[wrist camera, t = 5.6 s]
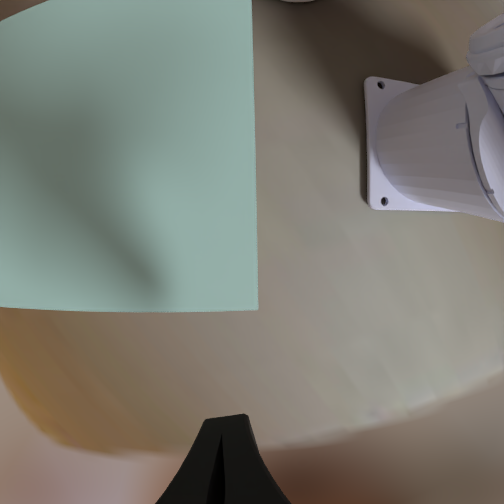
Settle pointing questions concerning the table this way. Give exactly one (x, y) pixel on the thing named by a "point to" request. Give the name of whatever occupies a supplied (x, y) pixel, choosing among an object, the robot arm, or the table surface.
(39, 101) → the lid
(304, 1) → the supplement bottle
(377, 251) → the table surface
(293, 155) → the table surface
